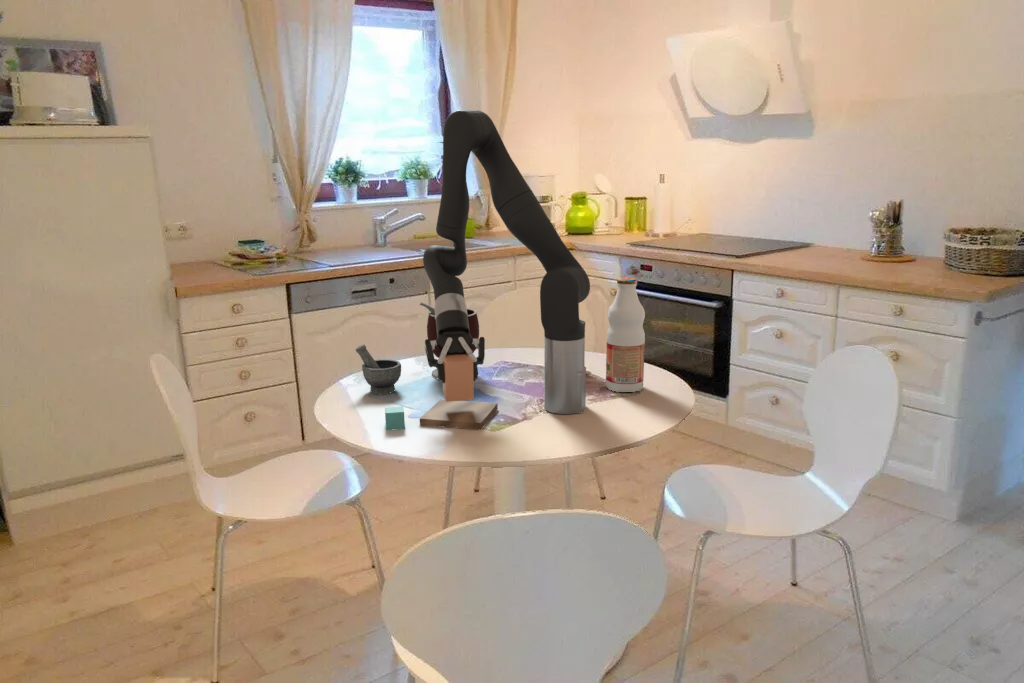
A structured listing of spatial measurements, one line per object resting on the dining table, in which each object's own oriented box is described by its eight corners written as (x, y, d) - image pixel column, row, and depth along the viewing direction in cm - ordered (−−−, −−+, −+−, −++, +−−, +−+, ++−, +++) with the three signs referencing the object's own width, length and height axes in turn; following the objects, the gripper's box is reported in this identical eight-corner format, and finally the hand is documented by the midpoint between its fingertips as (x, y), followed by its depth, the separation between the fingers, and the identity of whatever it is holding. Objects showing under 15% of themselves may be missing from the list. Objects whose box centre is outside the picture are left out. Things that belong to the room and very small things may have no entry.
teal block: (403, 423, 172) (403, 406, 171) (404, 429, 168) (404, 411, 167) (385, 424, 171) (384, 407, 170) (386, 430, 167) (385, 413, 166)
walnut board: (497, 409, 180) (497, 403, 180) (480, 429, 167) (480, 423, 167) (440, 405, 184) (440, 399, 183) (419, 425, 170) (419, 418, 170)
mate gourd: (479, 366, 217) (478, 296, 212) (480, 380, 203) (478, 306, 198) (424, 368, 216) (421, 297, 211) (421, 382, 202) (418, 307, 198)
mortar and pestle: (405, 385, 200) (403, 340, 197) (399, 396, 191) (397, 349, 188) (361, 385, 200) (359, 340, 197) (353, 396, 191) (351, 349, 188)
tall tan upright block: (469, 391, 178) (469, 353, 176) (473, 399, 172) (473, 361, 170) (443, 393, 177) (442, 355, 175) (445, 401, 171) (445, 362, 169)
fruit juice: (625, 396, 189) (628, 283, 182) (597, 387, 196) (599, 278, 189) (651, 388, 195) (654, 278, 188) (623, 380, 202) (625, 274, 195)
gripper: (421, 309, 175) (427, 374, 167) (483, 307, 178) (492, 370, 170) (420, 327, 182) (425, 390, 173) (480, 324, 185) (489, 386, 176)
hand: (458, 380), depth 172 cm, fingers closed on tall tan upright block, 6 cm apart
